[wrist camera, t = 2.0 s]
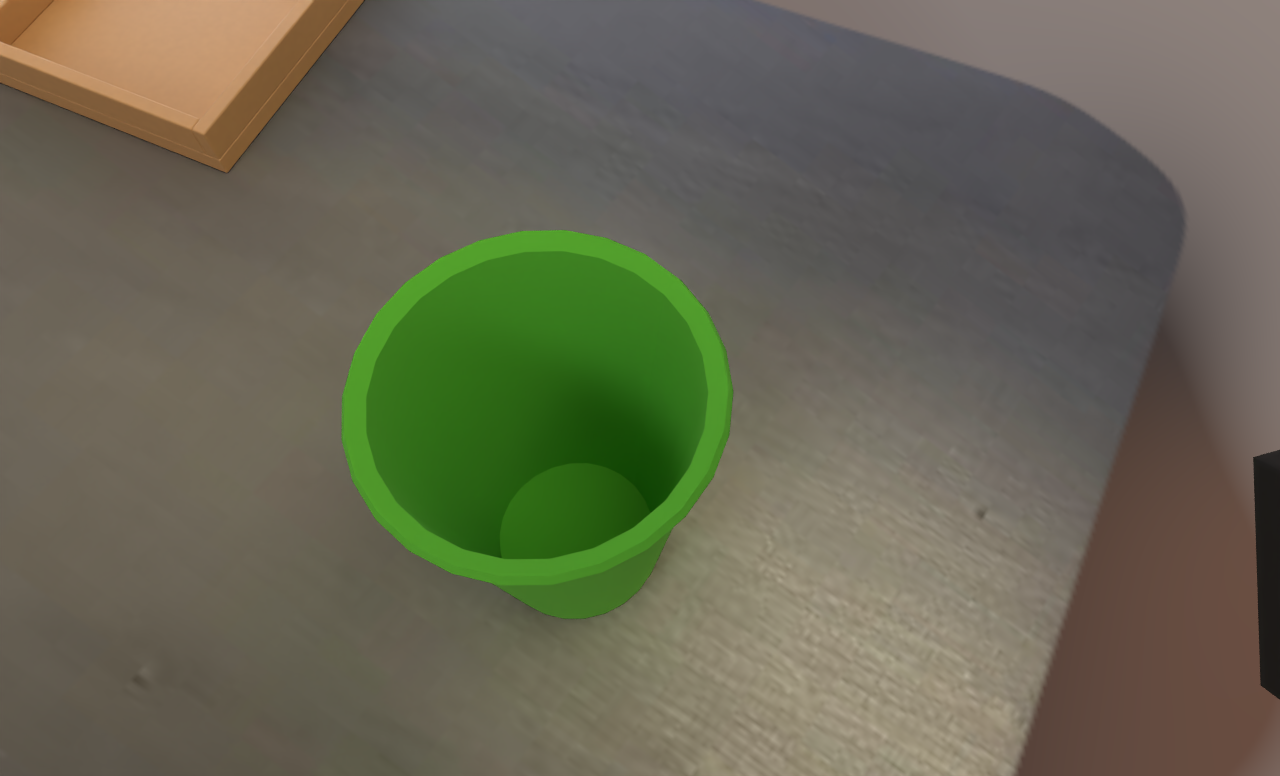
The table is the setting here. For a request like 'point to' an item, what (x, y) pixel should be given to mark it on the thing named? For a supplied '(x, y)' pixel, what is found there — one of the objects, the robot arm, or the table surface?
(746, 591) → the table surface
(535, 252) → the cup
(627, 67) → the table surface
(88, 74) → the square wooden tray
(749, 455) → the table surface
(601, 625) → the table surface
